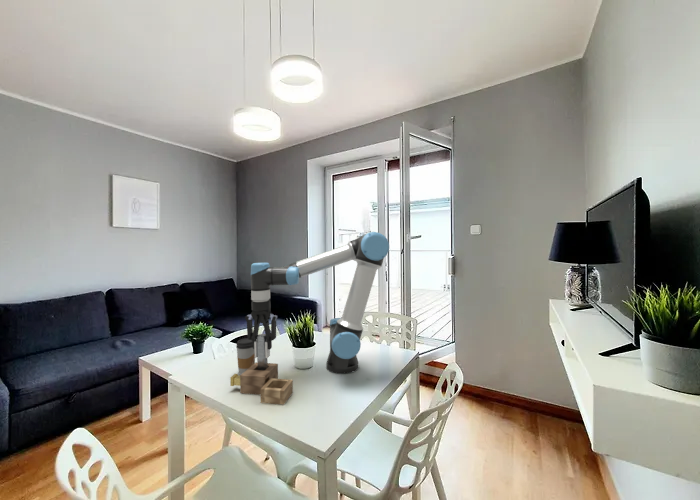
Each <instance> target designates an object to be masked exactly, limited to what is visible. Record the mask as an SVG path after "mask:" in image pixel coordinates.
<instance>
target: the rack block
mask: <svg viewBox="0 0 700 500" xmlns="http://www.w3.org/2000/svg"><path fill="white" fill-rule="evenodd" d="M293 381H294V380H293V379H285V378H278V379H274V378H271V379H270V380H269V381H268V382H267V383H266V384H265V385H264V386H263V387H262V388H261V395H260V403H261V404H271V405H285V404H287V402H288V400H289V399H290V397H291V396H292V394H293V393H294V387H293V385H294V384H293V383H294V382H293Z"/></svg>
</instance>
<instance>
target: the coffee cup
mask: <svg viewBox="0 0 700 500" xmlns="http://www.w3.org/2000/svg"><path fill="white" fill-rule="evenodd" d="M236 354H237V357H236V359H237V368H238V375H241V374H243V373H244V372H245V371H246V370H247V369H249V368H250V367H251V366H252V365H253V364H255V363H256V362H255V361H256V358H255V350H254V349H253V346H252V340H248V337H247V338H242V339H239V340H237V343H236Z"/></svg>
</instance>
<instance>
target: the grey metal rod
mask: <svg viewBox="0 0 700 500" xmlns="http://www.w3.org/2000/svg"><path fill="white" fill-rule="evenodd" d="M266 341H267V339H266V334H265V333H260V334H259V333H258V335H257V358H256V360H257V364H258V370H262V371H265V370H266V369H267V368H268V363H269V362H268V358H265V342H266Z"/></svg>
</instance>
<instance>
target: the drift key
mask: <svg viewBox="0 0 700 500" xmlns="http://www.w3.org/2000/svg"><path fill="white" fill-rule="evenodd" d="M229 378H230V379H229V380H230V381H229V382H230V387H234V386H236V387H237V386H239V387H240V375H239V373H234V374H233V375H231V376H230V377H229ZM265 384H266V380H265Z"/></svg>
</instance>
